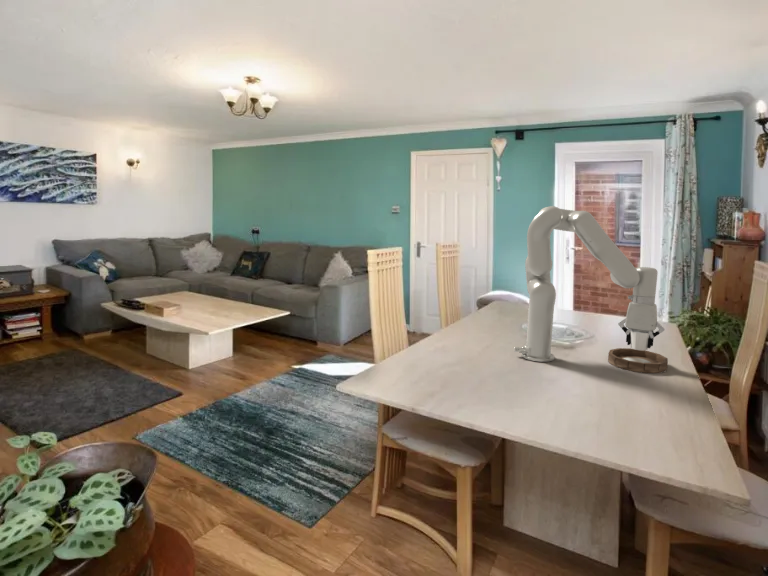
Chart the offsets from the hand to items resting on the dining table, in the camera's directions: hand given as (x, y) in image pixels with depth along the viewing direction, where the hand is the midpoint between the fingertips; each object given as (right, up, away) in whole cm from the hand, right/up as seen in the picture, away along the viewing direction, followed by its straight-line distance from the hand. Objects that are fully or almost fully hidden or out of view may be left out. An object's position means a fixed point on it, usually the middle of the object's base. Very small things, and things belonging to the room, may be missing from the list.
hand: (639, 345), depth 176 cm
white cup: (0, -1, 0) cm, 1 cm away
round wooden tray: (0, -7, +1) cm, 8 cm away
